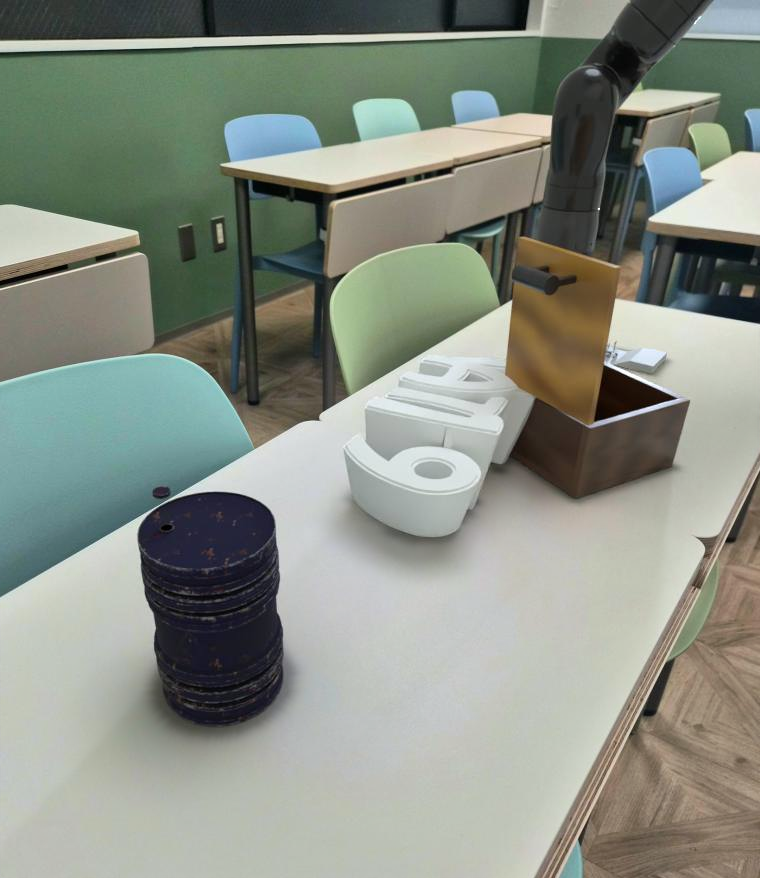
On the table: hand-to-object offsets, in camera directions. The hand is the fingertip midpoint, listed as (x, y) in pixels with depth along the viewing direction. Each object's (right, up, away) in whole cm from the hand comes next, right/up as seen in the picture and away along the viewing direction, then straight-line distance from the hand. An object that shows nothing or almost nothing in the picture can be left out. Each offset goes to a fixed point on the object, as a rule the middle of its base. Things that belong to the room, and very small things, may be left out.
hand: (544, 363), depth 102 cm
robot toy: (+18, +4, +19) cm, 26 cm away
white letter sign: (-16, -16, -15) cm, 27 cm away
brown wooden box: (+2, -14, -11) cm, 17 cm away
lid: (-5, 0, -23) cm, 24 cm away
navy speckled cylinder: (-38, -33, -43) cm, 66 cm away
